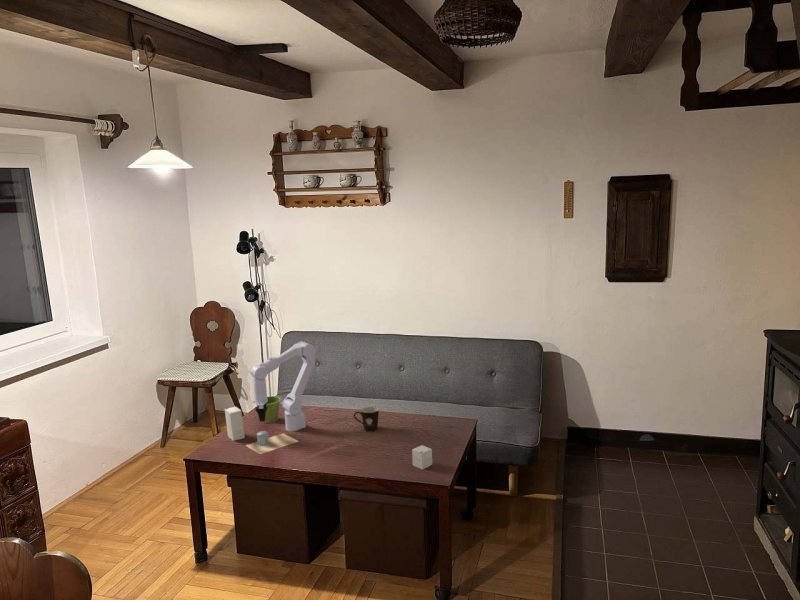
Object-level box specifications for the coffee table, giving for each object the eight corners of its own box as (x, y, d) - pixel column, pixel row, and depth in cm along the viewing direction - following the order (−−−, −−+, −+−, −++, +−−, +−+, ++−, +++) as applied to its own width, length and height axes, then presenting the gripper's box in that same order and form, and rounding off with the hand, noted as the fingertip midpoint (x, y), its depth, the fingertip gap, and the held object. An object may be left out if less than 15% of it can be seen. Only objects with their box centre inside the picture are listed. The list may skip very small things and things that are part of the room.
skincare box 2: (422, 461, 273) (421, 444, 271) (432, 465, 268) (432, 448, 267) (412, 465, 269) (411, 449, 267) (422, 469, 264) (422, 453, 263)
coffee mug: (383, 427, 312) (382, 408, 310) (373, 433, 305) (372, 413, 303) (363, 423, 318) (362, 404, 316) (353, 429, 311) (352, 410, 309)
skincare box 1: (245, 440, 303) (242, 410, 300) (232, 443, 299) (230, 413, 297) (239, 434, 310) (236, 405, 307) (226, 437, 306) (224, 408, 304)
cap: (255, 444, 294) (254, 433, 293) (263, 440, 298) (262, 430, 297) (262, 446, 291) (262, 436, 290) (271, 442, 295) (270, 432, 295)
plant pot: (254, 421, 327) (252, 400, 325) (274, 415, 335) (272, 394, 333) (266, 427, 318) (265, 405, 316) (286, 420, 326) (285, 399, 324)
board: (283, 435, 306) (282, 433, 306) (298, 443, 296) (298, 441, 296) (245, 447, 293) (245, 445, 293) (260, 456, 283) (260, 454, 283)
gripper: (252, 387, 306) (254, 414, 309) (251, 396, 292) (253, 424, 295) (267, 385, 308) (269, 412, 310) (266, 395, 294) (269, 423, 296)
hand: (262, 418), depth 302 cm, fingers open, 7 cm apart
